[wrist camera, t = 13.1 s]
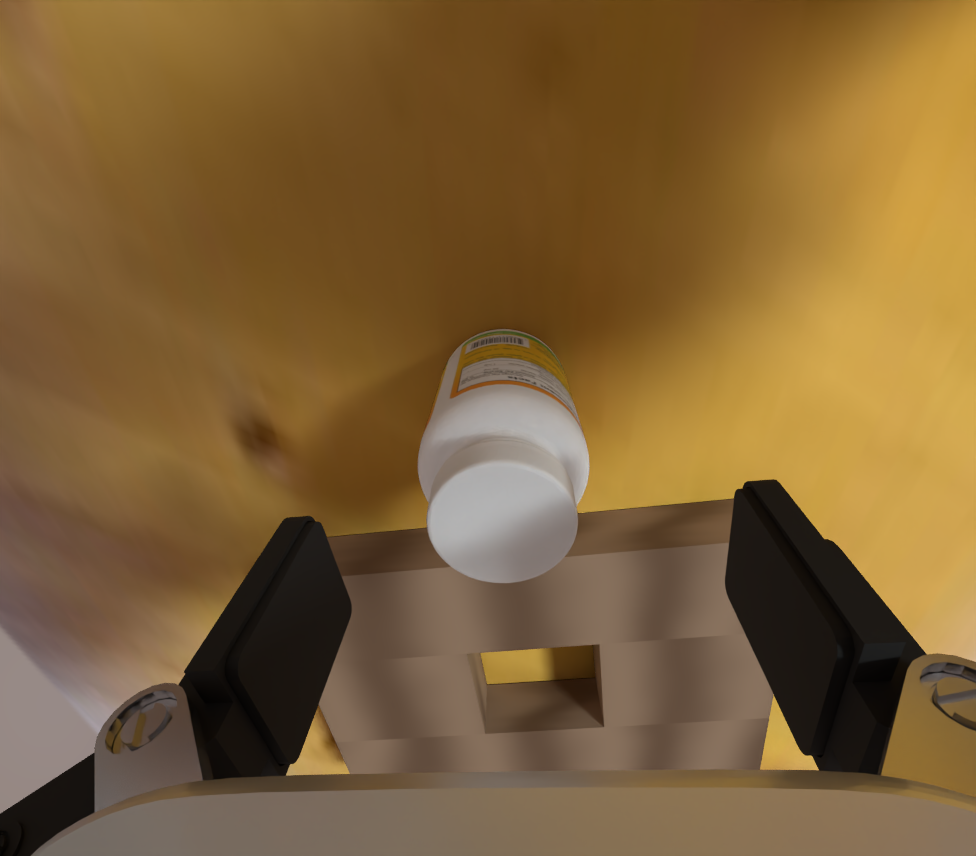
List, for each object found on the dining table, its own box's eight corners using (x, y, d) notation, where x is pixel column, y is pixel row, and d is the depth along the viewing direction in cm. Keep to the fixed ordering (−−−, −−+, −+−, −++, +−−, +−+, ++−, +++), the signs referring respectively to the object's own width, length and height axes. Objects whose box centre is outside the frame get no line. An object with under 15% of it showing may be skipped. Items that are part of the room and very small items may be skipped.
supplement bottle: (505, 462, 23) (504, 632, 15) (416, 388, 22) (357, 530, 13) (591, 384, 21) (650, 527, 13) (501, 298, 20) (498, 393, 11)
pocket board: (768, 495, 24) (802, 536, 21) (736, 728, 32) (757, 778, 29) (288, 541, 26) (263, 583, 23) (372, 747, 34) (360, 797, 31)
